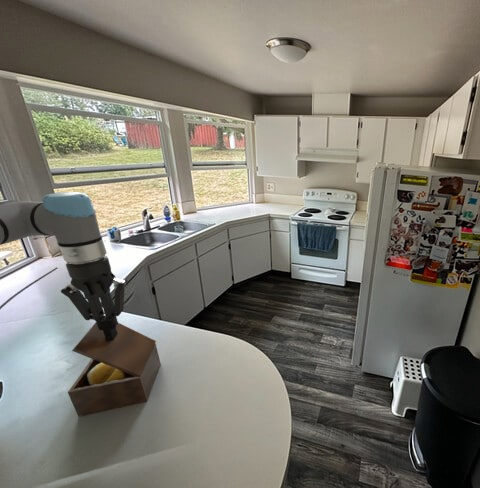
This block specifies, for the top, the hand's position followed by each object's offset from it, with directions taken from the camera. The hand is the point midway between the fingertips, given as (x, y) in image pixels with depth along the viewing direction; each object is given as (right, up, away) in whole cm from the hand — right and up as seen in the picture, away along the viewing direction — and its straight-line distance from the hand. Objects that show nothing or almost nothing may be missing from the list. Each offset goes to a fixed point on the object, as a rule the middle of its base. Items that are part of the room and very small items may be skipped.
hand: (112, 337), depth 68 cm
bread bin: (-2, -17, +6) cm, 18 cm away
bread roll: (-6, -13, +3) cm, 15 cm away
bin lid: (+1, -3, +1) cm, 3 cm away
